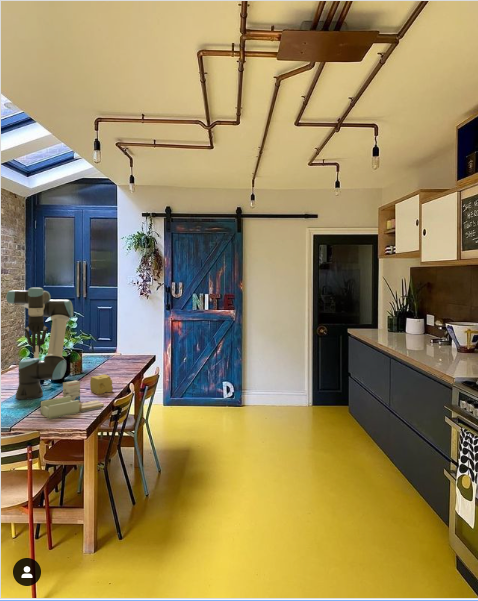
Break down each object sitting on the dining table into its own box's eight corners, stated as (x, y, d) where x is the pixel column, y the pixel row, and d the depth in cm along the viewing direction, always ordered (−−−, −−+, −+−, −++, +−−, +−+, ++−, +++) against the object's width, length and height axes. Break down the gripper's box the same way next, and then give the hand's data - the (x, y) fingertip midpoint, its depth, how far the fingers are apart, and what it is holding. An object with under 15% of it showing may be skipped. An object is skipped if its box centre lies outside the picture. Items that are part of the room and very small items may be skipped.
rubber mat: (71, 406, 239) (71, 406, 239) (91, 402, 247) (91, 402, 247) (81, 412, 229) (81, 411, 229) (102, 408, 237) (102, 407, 237)
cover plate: (71, 407, 236) (71, 401, 236) (96, 402, 247) (96, 396, 247) (78, 411, 230) (78, 404, 230) (103, 405, 240) (103, 399, 240)
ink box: (76, 398, 255) (76, 379, 254) (80, 400, 252) (80, 381, 251) (62, 401, 248) (62, 382, 248) (66, 403, 245) (66, 383, 244)
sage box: (40, 413, 226) (40, 401, 226) (70, 407, 237) (70, 395, 237) (49, 419, 217) (49, 406, 217) (79, 412, 229) (79, 400, 228)
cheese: (112, 391, 272) (112, 376, 272) (97, 394, 264) (97, 379, 264) (104, 388, 279) (104, 373, 279) (89, 391, 271) (89, 376, 271)
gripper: (25, 316, 223) (26, 360, 224) (50, 315, 232) (51, 357, 233) (21, 315, 228) (21, 358, 230) (45, 314, 238) (45, 355, 239)
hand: (36, 357), depth 232 cm, fingers closed
